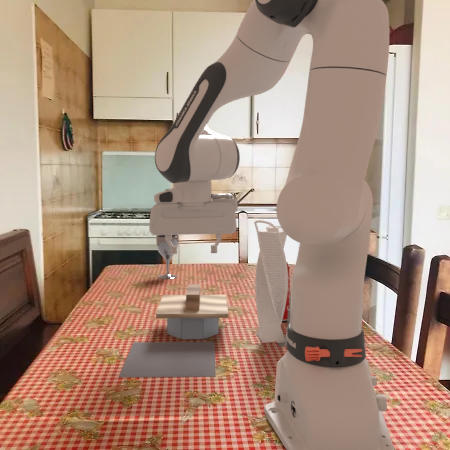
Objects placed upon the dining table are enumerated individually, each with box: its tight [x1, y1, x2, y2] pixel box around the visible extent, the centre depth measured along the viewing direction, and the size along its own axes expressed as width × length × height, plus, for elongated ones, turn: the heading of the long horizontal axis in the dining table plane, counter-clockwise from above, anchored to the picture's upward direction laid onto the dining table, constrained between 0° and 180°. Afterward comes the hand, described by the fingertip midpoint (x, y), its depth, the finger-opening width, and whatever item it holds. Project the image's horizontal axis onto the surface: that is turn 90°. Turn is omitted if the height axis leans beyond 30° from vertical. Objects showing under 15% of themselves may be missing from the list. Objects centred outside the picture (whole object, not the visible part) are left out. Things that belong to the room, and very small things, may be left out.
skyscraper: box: [253, 219, 291, 348], centre depth 109 cm, size 8×8×28 cm
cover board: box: [155, 283, 229, 319], centre depth 115 cm, size 16×16×4 cm
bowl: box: [166, 318, 220, 340], centre depth 115 cm, size 12×12×6 cm
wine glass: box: [155, 235, 180, 280], centre depth 173 cm, size 8×8×15 cm
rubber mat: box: [118, 341, 217, 378], centre depth 99 cm, size 18×18×1 cm
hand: (193, 253), depth 113 cm, fingers open, 8 cm apart
